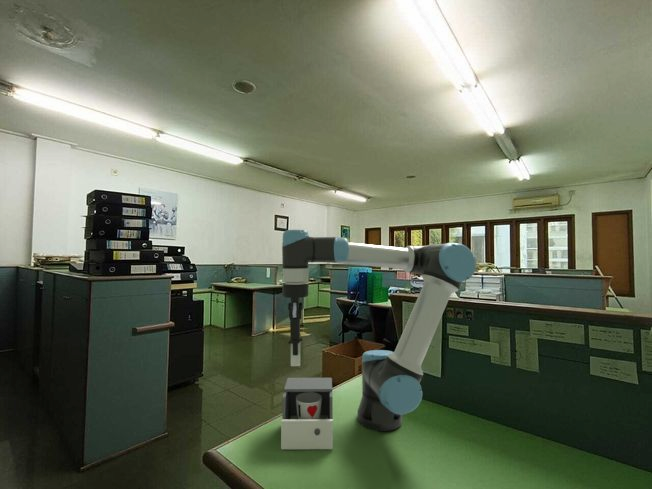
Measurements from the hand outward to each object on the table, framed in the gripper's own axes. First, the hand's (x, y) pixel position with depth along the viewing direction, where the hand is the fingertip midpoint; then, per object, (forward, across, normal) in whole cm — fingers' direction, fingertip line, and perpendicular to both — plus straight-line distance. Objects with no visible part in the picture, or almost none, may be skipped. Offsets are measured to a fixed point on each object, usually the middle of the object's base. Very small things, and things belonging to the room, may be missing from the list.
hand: (295, 365), depth 88 cm
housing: (+25, -9, +4) cm, 27 cm away
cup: (+23, -8, +4) cm, 25 cm away
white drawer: (+25, -9, +4) cm, 27 cm away
